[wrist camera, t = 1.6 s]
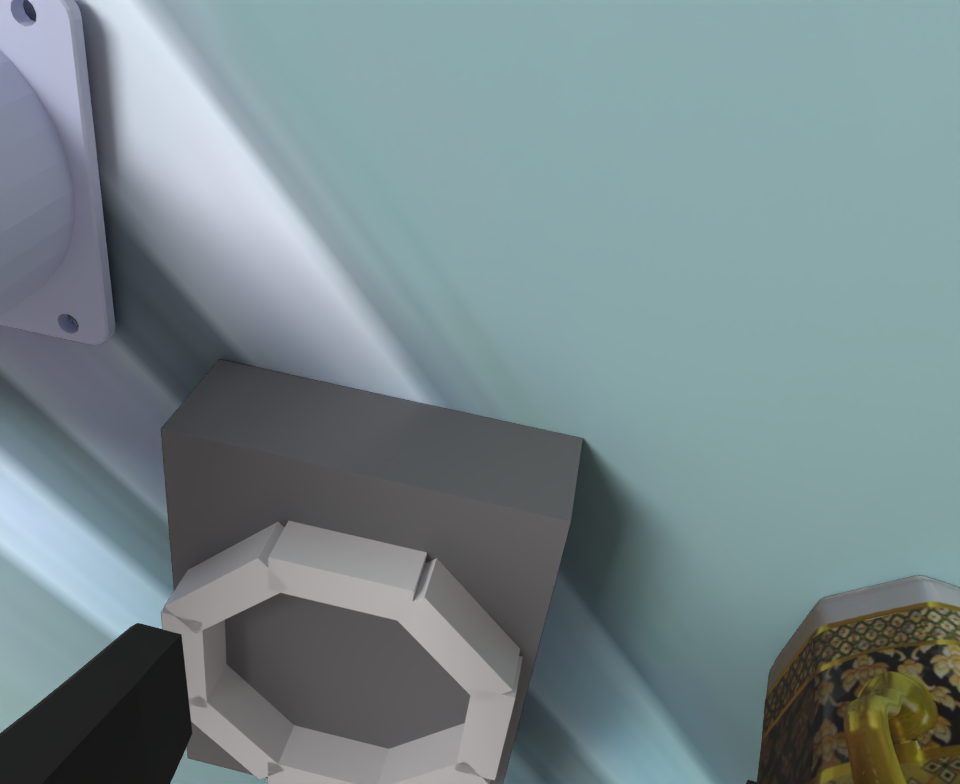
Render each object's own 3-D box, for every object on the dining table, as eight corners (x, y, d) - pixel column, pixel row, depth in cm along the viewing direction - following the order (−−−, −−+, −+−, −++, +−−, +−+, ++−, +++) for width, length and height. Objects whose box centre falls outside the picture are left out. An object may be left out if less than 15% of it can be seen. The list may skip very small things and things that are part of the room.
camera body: (229, 675, 28) (168, 795, 25) (219, 359, 22) (132, 461, 18) (506, 743, 28) (482, 876, 24) (582, 438, 21) (565, 561, 17)
